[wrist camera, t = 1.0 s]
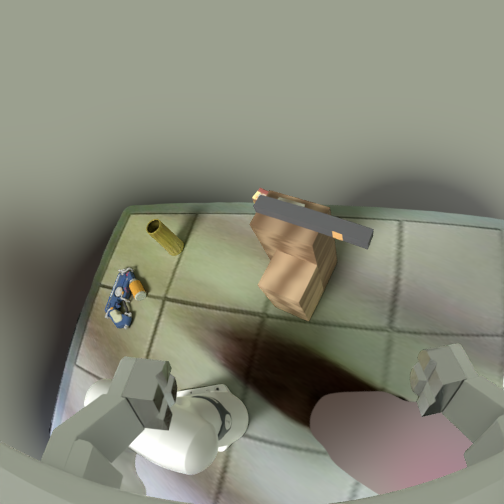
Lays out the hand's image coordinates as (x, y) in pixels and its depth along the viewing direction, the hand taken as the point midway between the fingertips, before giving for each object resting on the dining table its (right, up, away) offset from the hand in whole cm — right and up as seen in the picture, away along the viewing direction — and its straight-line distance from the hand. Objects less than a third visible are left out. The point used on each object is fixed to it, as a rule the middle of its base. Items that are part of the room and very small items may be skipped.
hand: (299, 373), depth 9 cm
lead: (+10, +9, +49) cm, 51 cm away
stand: (+11, -4, +72) cm, 74 cm away
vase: (-27, +5, +91) cm, 95 cm away
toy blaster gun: (-43, -13, +88) cm, 99 cm away
